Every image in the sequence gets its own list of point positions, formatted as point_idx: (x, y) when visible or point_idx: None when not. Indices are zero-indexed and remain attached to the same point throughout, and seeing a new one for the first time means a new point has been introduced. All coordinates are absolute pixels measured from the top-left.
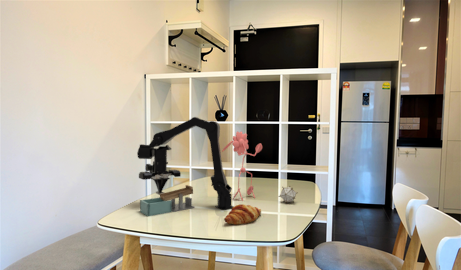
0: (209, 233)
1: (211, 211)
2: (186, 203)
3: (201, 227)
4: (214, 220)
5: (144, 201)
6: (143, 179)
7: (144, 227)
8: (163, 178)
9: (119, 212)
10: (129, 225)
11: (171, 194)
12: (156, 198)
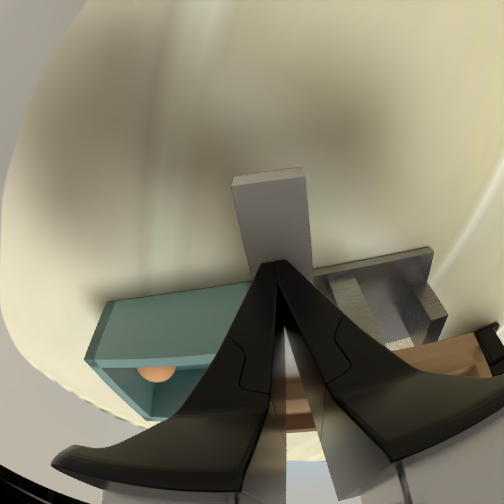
0: (286, 453)
1: None
2: (411, 305)
3: (291, 442)
4: None
5: (118, 388)
6: (47, 488)
7: (151, 421)
8: (341, 497)
9: (13, 267)
10: (105, 400)
11: (298, 430)
12: (201, 363)
